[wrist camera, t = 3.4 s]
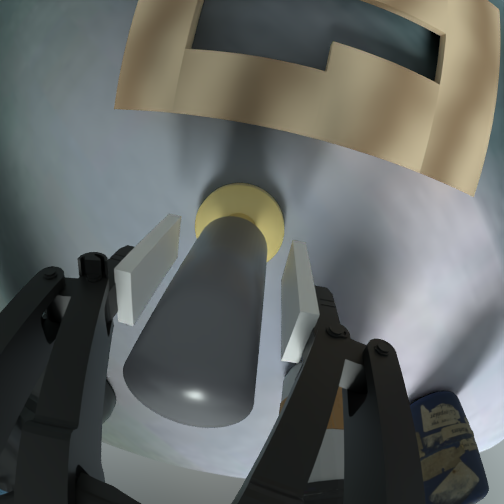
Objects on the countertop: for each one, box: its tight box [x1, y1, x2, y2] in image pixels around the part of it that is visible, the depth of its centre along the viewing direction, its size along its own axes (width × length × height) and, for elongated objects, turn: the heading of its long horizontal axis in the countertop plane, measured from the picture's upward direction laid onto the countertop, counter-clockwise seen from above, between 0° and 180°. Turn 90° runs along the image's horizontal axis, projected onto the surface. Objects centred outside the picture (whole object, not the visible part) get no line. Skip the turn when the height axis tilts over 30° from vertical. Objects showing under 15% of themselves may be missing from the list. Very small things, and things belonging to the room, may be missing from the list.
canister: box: [410, 391, 489, 504], centre depth 21 cm, size 10×10×18 cm
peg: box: [123, 183, 284, 428], centre depth 14 cm, size 6×6×14 cm
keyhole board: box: [114, 0, 500, 197], centre depth 12 cm, size 24×16×3 cm, turn 79°
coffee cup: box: [279, 362, 344, 504], centre depth 20 cm, size 8×8×15 cm
